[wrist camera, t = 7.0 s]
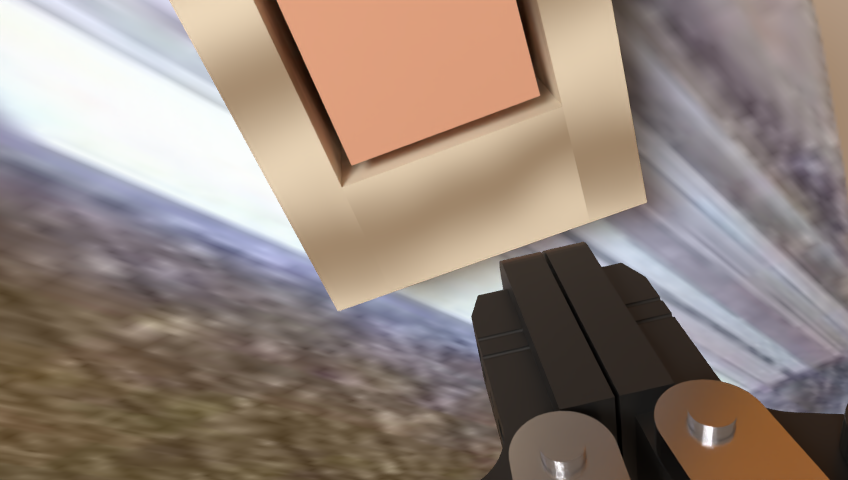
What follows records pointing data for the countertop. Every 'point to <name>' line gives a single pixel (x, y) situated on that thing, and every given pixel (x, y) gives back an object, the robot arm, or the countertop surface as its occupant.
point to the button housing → (430, 150)
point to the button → (410, 65)
